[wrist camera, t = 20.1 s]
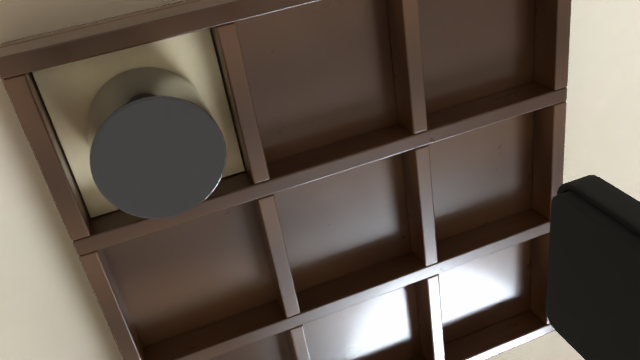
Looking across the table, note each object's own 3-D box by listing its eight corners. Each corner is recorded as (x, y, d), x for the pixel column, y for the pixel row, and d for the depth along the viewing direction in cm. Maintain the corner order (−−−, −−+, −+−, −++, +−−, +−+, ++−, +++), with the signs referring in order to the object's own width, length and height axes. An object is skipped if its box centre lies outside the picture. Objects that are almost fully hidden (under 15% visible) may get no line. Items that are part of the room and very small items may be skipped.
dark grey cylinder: (69, 84, 22) (69, 118, 19) (191, 53, 23) (209, 80, 20) (109, 190, 24) (115, 236, 21) (219, 157, 25) (239, 197, 22)
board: (-1, 43, 21) (-8, 59, 19) (541, -84, 26) (575, -81, 24) (173, 454, 32) (179, 488, 30) (533, 308, 37) (556, 330, 35)
